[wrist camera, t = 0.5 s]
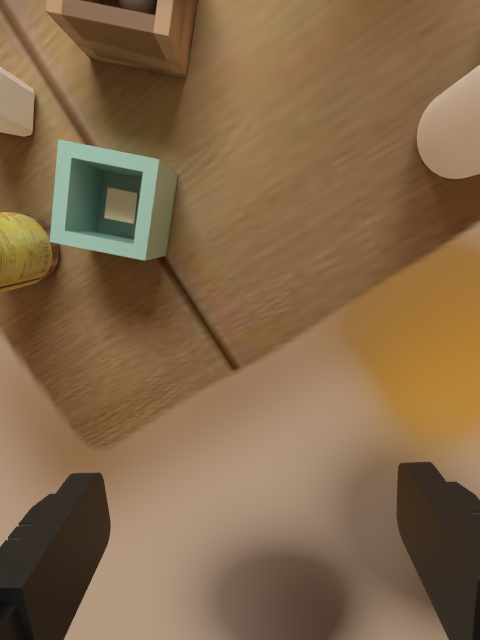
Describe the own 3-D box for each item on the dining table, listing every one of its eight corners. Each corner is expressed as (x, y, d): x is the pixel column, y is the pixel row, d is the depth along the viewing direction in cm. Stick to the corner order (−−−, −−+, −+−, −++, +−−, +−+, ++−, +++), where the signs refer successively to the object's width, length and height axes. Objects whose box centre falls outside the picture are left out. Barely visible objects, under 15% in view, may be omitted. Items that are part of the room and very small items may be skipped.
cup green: (97, 158, 34) (58, 139, 27) (178, 174, 34) (159, 159, 27) (89, 240, 35) (49, 242, 28) (165, 255, 35) (145, 260, 28)
